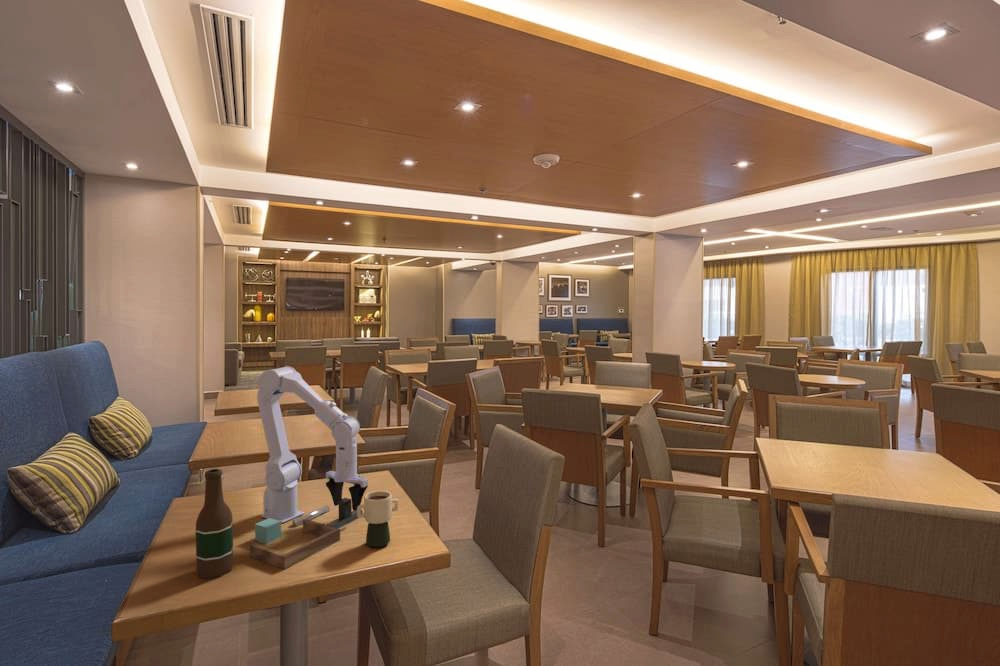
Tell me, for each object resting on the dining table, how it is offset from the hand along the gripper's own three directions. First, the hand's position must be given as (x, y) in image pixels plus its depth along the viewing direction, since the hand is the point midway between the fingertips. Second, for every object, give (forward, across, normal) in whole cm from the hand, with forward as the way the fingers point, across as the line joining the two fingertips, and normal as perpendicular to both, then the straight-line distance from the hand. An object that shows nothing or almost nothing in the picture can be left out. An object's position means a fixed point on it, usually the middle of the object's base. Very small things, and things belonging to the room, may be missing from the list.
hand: (346, 506), depth 147 cm
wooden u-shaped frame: (+4, 0, -18) cm, 19 cm away
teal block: (+4, -11, -18) cm, 21 cm away
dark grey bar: (+5, 0, -1) cm, 5 cm away
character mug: (+5, +17, -6) cm, 19 cm away
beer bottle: (+5, -7, -35) cm, 36 cm away
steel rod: (+5, -11, -3) cm, 12 cm away
